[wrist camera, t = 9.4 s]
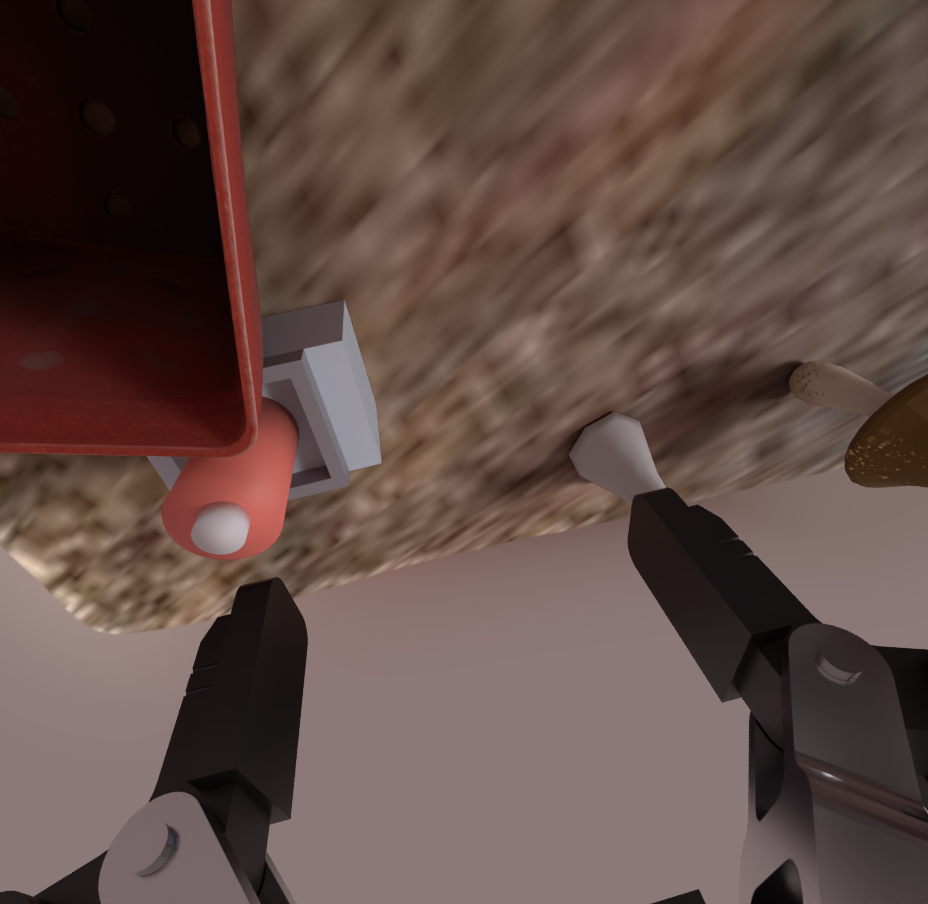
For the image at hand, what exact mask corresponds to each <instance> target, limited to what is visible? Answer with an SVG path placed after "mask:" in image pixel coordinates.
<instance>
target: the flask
mask: <svg viewBox="0 0 928 904" xmlns="http://www.w3.org/2000/svg"><path fill="white" fill-rule="evenodd" d="M568 455H569V457H570V459H571V461H572V463H573V465H574V467H575V469H576V471H577V473H578V475H579V476H581V477H583V478H585V479H587V480H589V481H591V482H593V483H595V484H597V485H599V486H601V487H603V488H605V489H606V490H608V491H610V492H612V493H613V494H615V495H617V496H619V497H621V498H622V499H624V500H626V501H627V502H628V503H630V504H631V505H632V501H633V497H634V496H635V495H637V494H641V493H646V492H650V491H654V490H658V489H663V488H666V487H665V485H664V484H663V482H662V480H661V479H660V477H659V475H658V473H657V471H656V468H655V465H654V463H653V460H652V457H651V454H650V450H649V447H648V444H647V441H646V439H645V436H644V433H643V430H642V427H641V424H640V422H639V420H636V419H634V418H631V417H628V416H625V415H623V414H620V413H617V412H613V413H611V414H609V415H607V416H606V417H604V418H602V419H600V420H598V421H597V422H595V423H593V424H591V425H590V426H588V427H586V428H585V429H584V430H583V432H582V434H581V435H580V437H579V438H578V440H577V442H576V443H575V445H574V446H573V448H572V449H571V451H570V453H569V454H568Z"/></svg>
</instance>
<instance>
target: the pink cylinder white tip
mask: <svg viewBox="0 0 928 904" xmlns="http://www.w3.org/2000/svg"><path fill="white" fill-rule="evenodd" d="M298 441H299V429H298V425H297V422H296V420H295V418H294V417H293V415H292V414H291V413H290V412H289V411H288V410H287V409H286V408H285V407H284V406H283V405H281V404H280V403H278V402H276V401H274V400H272V399H270V398H267V397H263V396H262V401H261V415H260V424H259V430H258V437H257V440H256V442H255V443H254V445H253V446H252V448H251V449H249V450H248V451H247V452H245V453H243V454H241V455H238V456H235V457H226V458H206V457H189V458H188V460H187V461H186V463H185V465H184V467H183V469H182V471H181V472H180V474H179V476H178V478H177V480H176V482H175V483H174V485H173V487H172V489H171V491H170V493H169V494H168V496H167V498H166V500H165V502H164V505H163V508H162V520H163V524H164V526H165V529H166V530H167V532H168V534H169V535H170V536H171V537H172V538H173V540H174V541H176V542H177V543H178V544H179V545H180V546H182V547H183V548H185V549H187V550H188V551H190V552H193V553H195V554H197V555H200V556H203V557H207V558H212V559H219V560H236V559H243V558H248V557H251V556H254V555H256V554H259V553H261V552H263V551H264V550H266V549H267V548H269V547H270V546H271V545H272V544H273V543H274V542H275V541H276V540H277V538H278V537H279V535H280V533H281V530H282V527H283V522H284V516H285V511H286V505H287V500H288V495H289V489H290V484H291V479H292V473H293V468H294V462H295V457H296V452H297V446H298Z"/></svg>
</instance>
